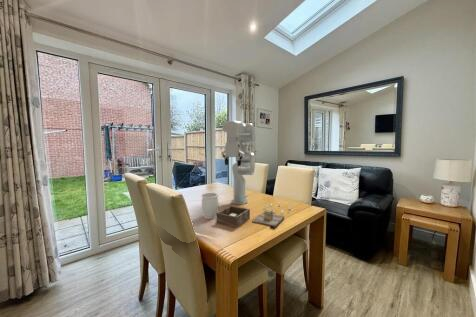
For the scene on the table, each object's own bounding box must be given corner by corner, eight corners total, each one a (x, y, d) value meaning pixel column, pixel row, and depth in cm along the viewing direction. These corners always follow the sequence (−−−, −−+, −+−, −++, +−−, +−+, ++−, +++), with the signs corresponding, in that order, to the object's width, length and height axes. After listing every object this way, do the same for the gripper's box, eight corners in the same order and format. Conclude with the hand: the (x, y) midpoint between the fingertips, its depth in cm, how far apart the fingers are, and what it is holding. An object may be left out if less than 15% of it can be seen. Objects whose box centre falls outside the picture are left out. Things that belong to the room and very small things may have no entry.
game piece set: (271, 204, 166) (271, 199, 166) (295, 209, 154) (296, 204, 153) (257, 210, 152) (257, 205, 151) (282, 217, 139) (283, 211, 138)
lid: (263, 215, 142) (263, 204, 141) (284, 219, 135) (284, 208, 134) (251, 224, 128) (251, 212, 127) (274, 229, 121) (275, 217, 120)
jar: (202, 221, 132) (201, 197, 130) (201, 215, 142) (201, 193, 140) (219, 220, 134) (219, 196, 132) (217, 214, 144) (217, 192, 142)
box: (230, 215, 140) (230, 205, 140) (249, 220, 133) (249, 209, 133) (216, 224, 127) (216, 213, 126) (236, 229, 120) (236, 217, 119)
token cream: (232, 216, 136) (232, 213, 136) (237, 217, 134) (237, 214, 134) (228, 218, 133) (228, 215, 132) (234, 220, 131) (234, 216, 130)
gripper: (246, 139, 140) (246, 165, 142) (224, 139, 148) (224, 163, 151) (241, 140, 133) (241, 167, 136) (218, 140, 142) (218, 165, 144)
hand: (232, 165), depth 143 cm, fingers open, 9 cm apart
